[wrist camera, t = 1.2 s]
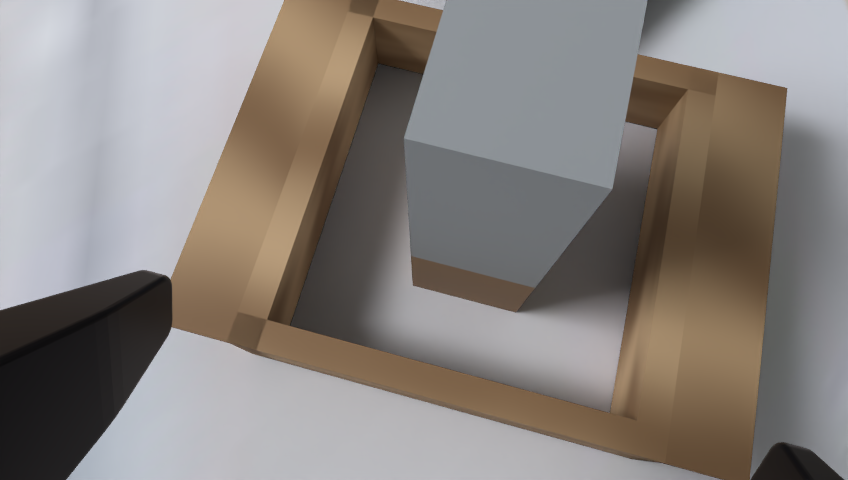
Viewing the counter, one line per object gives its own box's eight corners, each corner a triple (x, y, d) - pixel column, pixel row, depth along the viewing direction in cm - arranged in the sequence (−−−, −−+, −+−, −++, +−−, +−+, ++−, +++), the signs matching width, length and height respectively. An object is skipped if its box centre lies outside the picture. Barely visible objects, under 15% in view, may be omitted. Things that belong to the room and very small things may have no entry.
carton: (704, 479, 21) (748, 486, 18) (187, 336, 22) (153, 321, 19) (745, 127, 25) (787, 88, 22) (308, 26, 26) (294, -24, 23)
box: (516, 312, 23) (612, 189, 11) (412, 285, 23) (403, 138, 11) (547, 170, 24) (659, -63, 13) (451, 147, 25) (477, -101, 13)
